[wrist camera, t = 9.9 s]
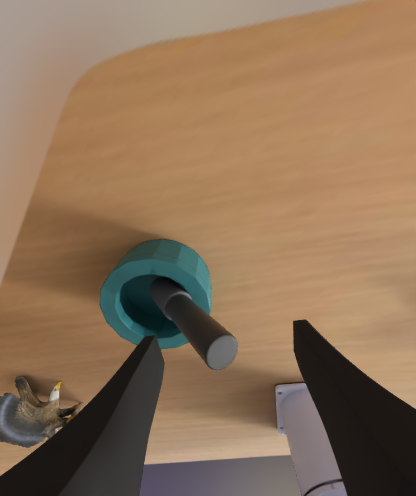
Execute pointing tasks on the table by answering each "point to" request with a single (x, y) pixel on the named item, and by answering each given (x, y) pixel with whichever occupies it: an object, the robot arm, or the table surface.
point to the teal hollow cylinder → (138, 296)
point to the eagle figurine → (31, 415)
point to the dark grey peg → (195, 324)
